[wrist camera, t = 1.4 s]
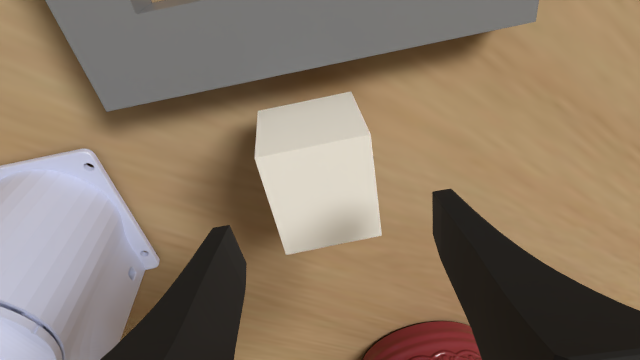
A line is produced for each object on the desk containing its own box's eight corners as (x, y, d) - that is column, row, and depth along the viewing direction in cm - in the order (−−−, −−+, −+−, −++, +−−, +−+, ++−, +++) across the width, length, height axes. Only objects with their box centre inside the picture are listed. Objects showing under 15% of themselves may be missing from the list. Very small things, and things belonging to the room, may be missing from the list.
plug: (359, 179, 24) (383, 252, 19) (287, 193, 24) (291, 271, 19) (344, 77, 20) (370, 134, 15) (258, 95, 20) (254, 158, 15)
